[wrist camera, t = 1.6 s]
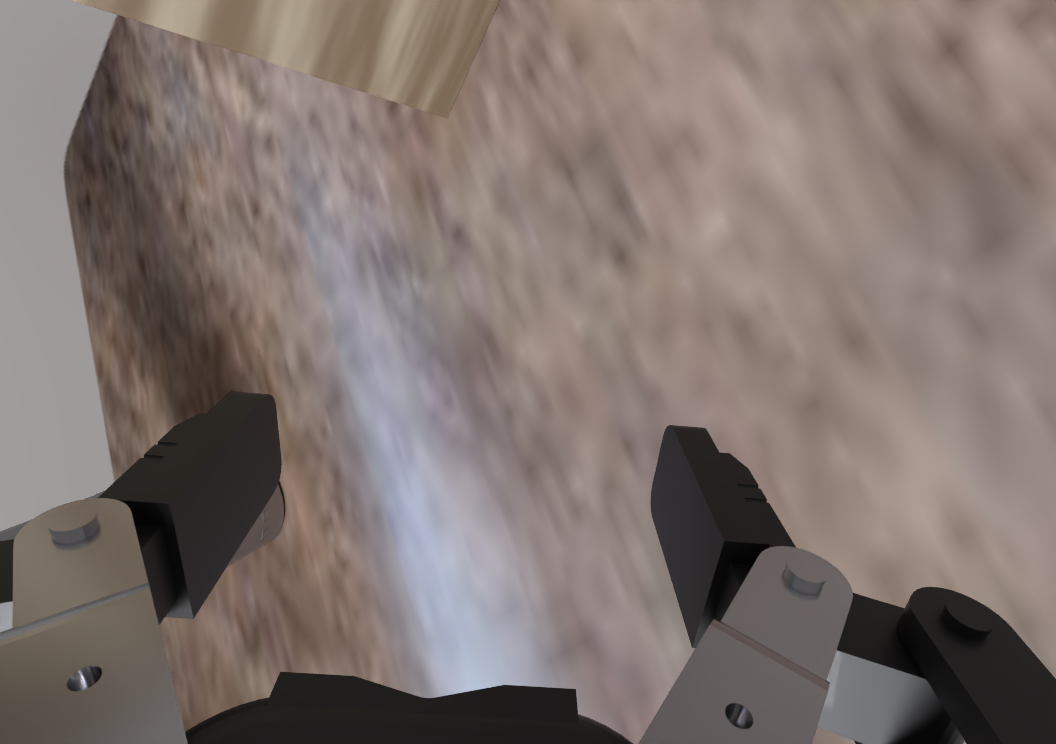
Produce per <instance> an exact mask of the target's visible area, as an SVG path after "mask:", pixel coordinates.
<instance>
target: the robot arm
mask: <svg viewBox="0 0 1056 744" xmlns="http://www.w3.org/2000/svg"><path fill="white" fill-rule="evenodd" d="M280 474H281V451H280V441H279V431H278V422H277V412H276V404H275V400H274V398H273V397H272V396H271V395H269V394H258V393H245V392H229V393H228V394H227V395H226V396H225V397H224V398H223V399H222V400H221V401H220V402H219V403H218V404H217V405H216V406H215V407H214V408H213V409H212V410H210V411H209V412H208V413H207V414H198V415H196V416H194V417H192V418H190V419H188V420H186V421H184V422H182V423H180V424H178V425H176V426H174V427H173V428H172V429H171V430H170V431H169V432H168V433H167V434H166V435H165V436H164V437H163V438H161V439H160V440H159V441H158V445H154V446H153V447H152V448H151V449H150V450H149V451H147V452H146V453H145V454H144V458H140V459H139V460H138V461H137V462H136V463H135V464H134V465H132V466H131V467H130V468H129V469H128V470H127V471H126V472H125V473H124V474H123V475H122V476H121V477H120V478H118V479H117V480H116V481H115V482H114V483H113V484H112V485H111V486H110V487H109V488H108V489H107V490H106V491H103V492H100V493H98V494H96V495H94V496H91V497H89V498H86V499H84V500H78V501H74V502H70V503H67V504H64V505H61V506H58V507H55V508H53V509H50V510H48V511H46V512H44V513H42V514H40V515H39V516H37V517H35V518H34V519H32V520H30V521H27V522H24V523H22V524H19V525H16V526H14V527H11V528H8V529H6V530H3V531H1V532H0V744H633V743H632V742H630V741H629V740H628V739H626V738H625V737H624V736H622V735H621V734H619V733H617V732H616V731H614V730H612V729H611V728H609V727H607V726H606V725H603V724H601V723H599V722H597V721H595V720H592V719H590V718H587V717H584V716H581V715H578V710H577V698H576V689H563V688H546V687H529V686H512V685H502V686H496V687H491V688H485V689H480V690H475V691H469V692H464V693H458V694H453V695H447V696H442V697H436V698H422V697H418V696H415V695H412V694H408V693H405V692H402V691H399V690H396V689H393V688H390V687H386V686H383V685H380V684H377V683H374V682H371V681H368V680H364V679H361V678H358V677H355V676H342V675H325V674H308V673H291V672H280V674H279V676H278V678H277V681H276V683H275V685H274V688H273V690H272V692H271V695H270V697H269V698H264V699H259V700H256V701H252V702H249V703H246V704H242V705H239V706H236V707H234V708H231V709H229V710H226V711H224V712H221V713H219V714H217V715H215V716H213V717H211V718H209V719H207V720H205V721H203V722H201V723H199V724H197V725H196V726H194V727H193V728H191V729H189V730H188V731H186V732H185V731H184V726H183V722H182V718H181V714H180V710H179V706H178V702H177V698H176V693H175V689H174V685H173V681H172V677H171V673H170V669H169V665H168V660H167V656H166V652H165V648H164V644H163V640H162V636H161V632H160V627H159V624H160V623H161V622H162V620H163V619H164V617H174V618H190V619H194V617H195V615H196V614H197V612H198V611H199V609H200V608H201V606H202V604H203V603H204V601H205V600H206V598H207V597H208V595H209V594H210V592H211V590H212V589H213V587H214V586H215V584H216V583H217V581H218V579H219V578H220V576H221V575H222V573H223V572H224V570H225V569H226V568H227V567H228V566H230V565H232V564H233V563H235V562H237V561H238V560H240V559H242V558H243V557H245V556H247V555H248V554H250V553H251V552H253V551H255V550H256V549H258V548H260V547H261V546H263V545H265V544H266V543H268V542H270V541H271V540H273V539H274V538H275V537H276V536H277V535H278V534H279V532H280V529H281V527H282V524H283V519H284V504H283V498H282V494H281V491H280V488H279V485H278V482H279V479H280ZM651 513H652V518H653V521H654V524H655V528H656V531H657V534H658V537H659V541H660V544H661V547H662V551H663V554H664V557H665V560H666V564H667V567H668V570H669V573H670V577H671V580H672V583H673V587H674V590H675V593H676V596H677V600H678V603H679V606H680V610H681V613H682V616H683V619H684V623H685V626H686V629H687V632H688V636H689V639H690V642H691V646H692V648H696V649H695V650H694V652H693V654H692V655H691V657H690V659H689V660H688V662H687V664H686V665H685V667H684V669H683V670H682V672H681V674H680V675H679V677H678V679H677V680H676V682H675V684H674V685H673V687H672V689H671V690H670V692H669V694H668V695H667V697H666V699H665V700H664V702H663V704H662V705H661V707H660V709H659V710H658V712H657V713H656V715H655V717H654V718H653V720H652V722H651V723H650V725H649V727H648V728H647V730H646V732H645V733H644V735H643V737H642V738H641V740H640V742H639V743H638V744H812V742H813V739H814V736H815V732H816V729H817V727H818V728H821V729H824V730H827V731H829V732H832V733H835V734H838V735H840V736H843V737H846V738H849V739H852V740H854V741H855V743H856V744H963V742H964V741H965V742H966V743H967V744H1056V679H1055V678H1054V677H1053V675H1052V674H1051V673H1050V672H1049V671H1048V669H1047V668H1046V667H1045V666H1044V665H1043V664H1042V662H1041V661H1040V660H1039V659H1038V658H1037V657H1036V655H1035V654H1034V653H1033V652H1032V651H1031V650H1030V648H1029V647H1028V646H1027V645H1026V644H1025V643H1024V641H1023V640H1022V639H1021V638H1020V637H1019V636H1018V634H1017V633H1016V632H1015V631H1014V630H1013V629H1012V628H1011V626H1010V625H1009V624H1008V623H1007V622H1006V621H1005V620H1003V619H1002V618H1001V617H1000V616H999V615H998V614H996V613H995V612H993V611H992V610H991V609H989V608H988V607H986V606H985V605H983V604H981V603H979V602H978V601H976V600H974V599H972V598H970V597H968V596H965V595H963V594H960V593H958V592H955V591H952V590H948V589H944V588H938V587H924V588H920V589H917V590H916V591H915V592H913V594H912V595H911V597H910V599H909V601H908V603H907V605H906V607H905V608H901V607H898V606H895V605H891V604H888V603H884V602H881V601H878V600H874V599H871V598H868V597H864V596H861V595H858V594H855V593H852V589H851V586H850V584H849V582H848V581H847V579H846V578H845V577H844V575H843V574H842V573H841V572H840V571H839V570H838V569H837V568H836V567H834V566H833V565H832V564H831V563H829V562H828V561H826V560H824V559H823V558H821V557H819V556H817V555H815V554H813V553H811V552H808V551H806V550H802V549H799V548H796V547H795V545H794V543H793V542H792V540H791V538H790V537H789V535H788V533H787V532H786V530H785V529H784V527H783V525H782V524H781V522H780V520H779V519H778V517H777V515H776V514H775V512H774V510H773V509H772V507H771V505H770V504H769V503H767V499H766V497H765V496H764V494H763V492H762V491H761V489H758V484H757V482H756V481H755V479H754V477H753V476H752V474H751V472H750V471H749V469H748V468H747V467H746V466H744V465H743V464H742V463H741V462H739V461H738V460H737V459H736V458H735V457H733V456H732V455H731V454H730V453H719V451H718V449H717V447H716V446H715V444H714V442H713V440H712V438H711V437H710V435H709V433H708V431H707V430H706V429H705V428H699V427H687V426H674V425H669V426H667V428H666V429H665V432H664V435H663V439H662V444H661V448H660V453H659V457H658V462H657V466H656V471H655V476H654V480H653V485H652V490H651Z"/></svg>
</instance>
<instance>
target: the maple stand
mask: <svg viewBox="0 0 1056 744" xmlns="http://www.w3.org/2000/svg"><path fill="white" fill-rule="evenodd" d="M72 1H75V2H79V3H82V4H85V5H88V6H91V7H95V8H98V9H101V10H104V11H107V12H111V13H114V14H117V15H120V16H123V17H126V18H129V19H133V20H136V21H139V22H142V23H145V24H149V25H152V26H155V27H158V28H161V29H164V30H168V31H171V32H174V33H177V34H180V35H184V36H187V37H190V38H193V39H196V40H200V41H203V42H206V43H209V44H212V45H215V46H219V47H222V48H225V49H228V50H231V51H235V52H238V53H241V54H244V55H247V56H250V57H254V58H257V59H260V60H263V61H266V62H270V63H273V64H276V65H279V66H282V67H286V68H289V69H292V70H295V71H298V72H301V73H305V74H308V75H311V76H314V77H317V78H321V79H324V80H327V81H330V82H333V83H336V84H340V85H343V86H346V87H349V88H352V89H356V90H359V91H362V92H365V93H368V94H371V95H375V96H378V97H381V98H384V99H387V100H391V101H394V102H397V103H400V104H403V105H407V106H410V107H413V108H416V109H419V110H422V111H426V112H429V113H432V114H435V115H438V116H442V117H445V118H447V117H448V115H449V113H450V110H451V108H452V106H453V104H454V101H455V99H456V97H457V95H458V93H459V90H460V88H461V86H462V84H463V81H464V79H465V77H466V75H467V72H468V70H469V68H470V66H471V64H472V61H473V59H474V57H475V55H476V52H477V50H478V48H479V46H480V44H481V41H482V39H483V37H484V35H485V32H486V30H487V28H488V26H489V24H490V21H491V19H492V17H493V15H494V12H495V10H496V8H497V6H498V3H499V1H500V0H72Z"/></svg>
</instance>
